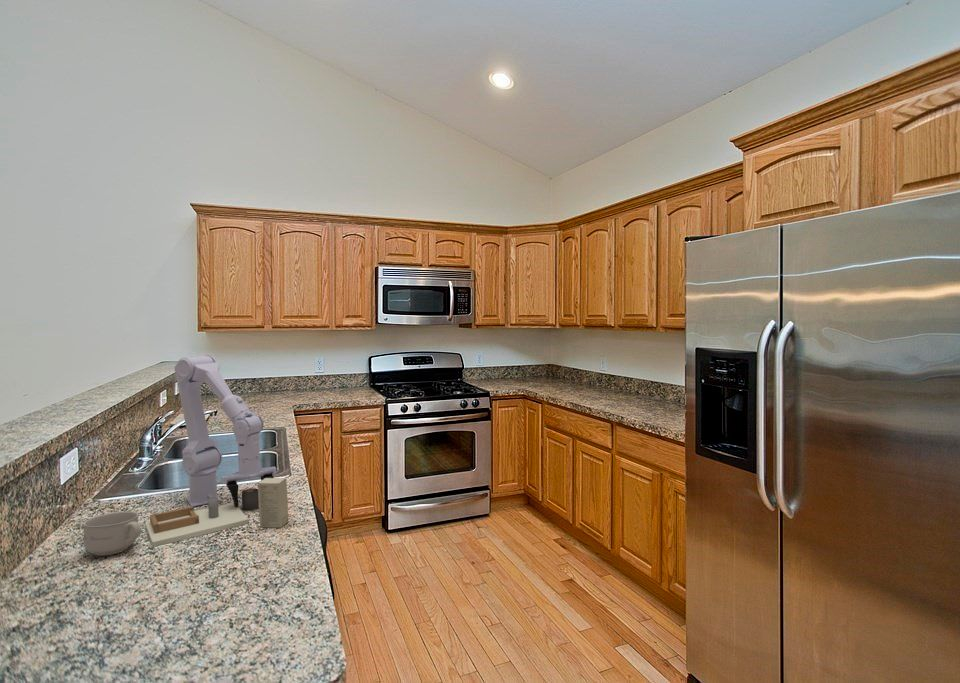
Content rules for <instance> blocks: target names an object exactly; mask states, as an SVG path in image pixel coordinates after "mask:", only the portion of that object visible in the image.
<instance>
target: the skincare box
mask: <svg viewBox="0 0 960 683" xmlns="http://www.w3.org/2000/svg"><path fill="white" fill-rule="evenodd" d="M257 489H258V500H259V507H258V512H259V515H258V517H259V527H260V528H275V529H276V528H282V527H283V526H285V525H286V524H287V523H288V522H289V506H288V505H289V504H288V485H287V478H286V477H274V478H265V479H263V480H261V479H260V481H258V482H257Z"/></svg>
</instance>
